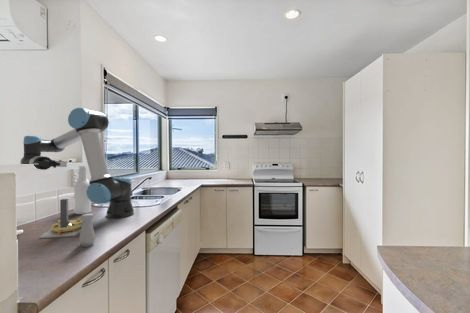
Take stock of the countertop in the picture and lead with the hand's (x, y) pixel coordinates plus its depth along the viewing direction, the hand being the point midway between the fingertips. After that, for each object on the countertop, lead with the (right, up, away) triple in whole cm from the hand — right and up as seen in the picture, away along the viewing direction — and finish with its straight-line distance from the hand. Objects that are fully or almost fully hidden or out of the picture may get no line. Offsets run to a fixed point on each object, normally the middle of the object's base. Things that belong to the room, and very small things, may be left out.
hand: (65, 164), depth 118 cm
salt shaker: (+28, -33, -25) cm, 50 cm away
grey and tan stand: (+8, -31, -8) cm, 33 cm away
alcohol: (-6, -32, +23) cm, 40 cm away
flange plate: (+8, -32, -8) cm, 34 cm away
